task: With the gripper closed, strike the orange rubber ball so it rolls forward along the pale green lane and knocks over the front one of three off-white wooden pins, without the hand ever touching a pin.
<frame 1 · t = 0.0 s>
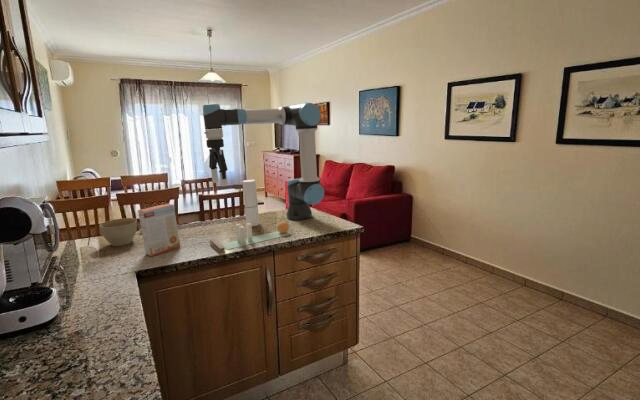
hand: (219, 184, 162), 28 cm above the worktop, tool pointing down, fingers open, 13 cm apart
cylindrical container: (252, 224, 194), on the worktop
planter bowl: (122, 243, 172), on the worktop
ball: (283, 227, 175), on the worktop
lane: (258, 239, 168), on the worktop
backstop: (217, 248, 158), on the worktop
cracker box: (163, 251, 158), on the worktop
pin back right: (239, 241, 166), on the worktop
pin front: (250, 240, 166), on the worktop
pin back left: (243, 244, 162), on the worktop
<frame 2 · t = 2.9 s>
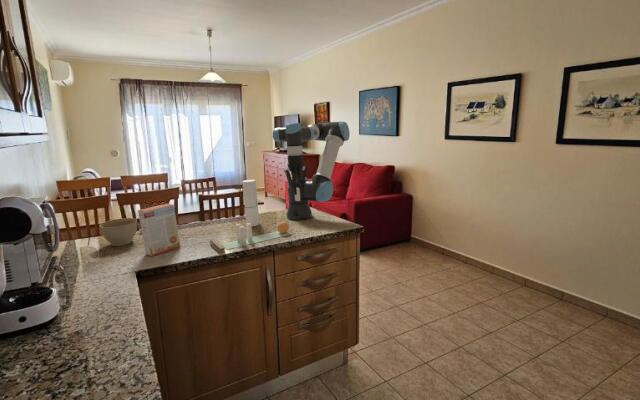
hand: (297, 200, 177), 16 cm above the worktop, tool pointing down, fingers closed
nothing on the worktop moved.
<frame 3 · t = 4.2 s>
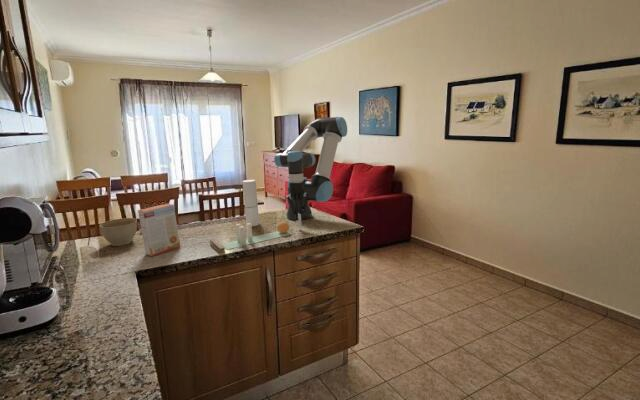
hand: (298, 225, 180), 2 cm above the worktop, tool pointing down, fingers closed
nothing on the worktop moved.
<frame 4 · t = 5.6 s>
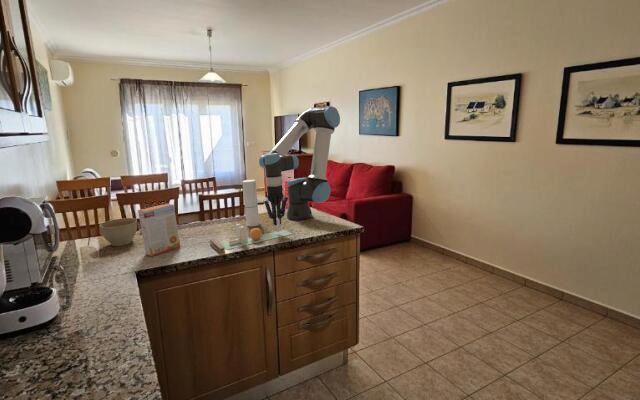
hand: (277, 230, 174), 2 cm above the worktop, tool pointing down, fingers closed
ball: (255, 234, 167), on the worktop
pin front: (246, 239, 165), point 1 cm above the worktop, tilted 90°
everything else where it was.
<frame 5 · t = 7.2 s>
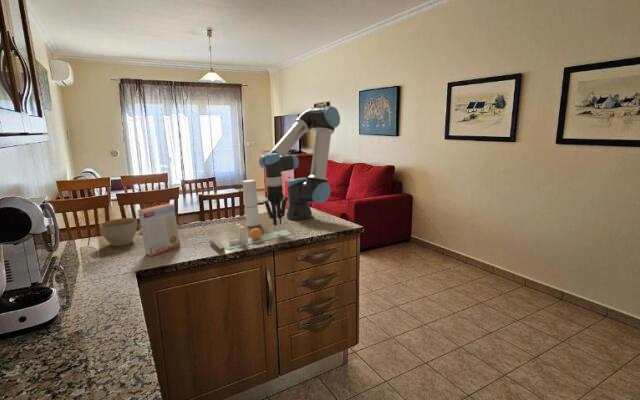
hand: (277, 230, 174), 2 cm above the worktop, tool pointing down, fingers closed
nothing on the worktop moved.
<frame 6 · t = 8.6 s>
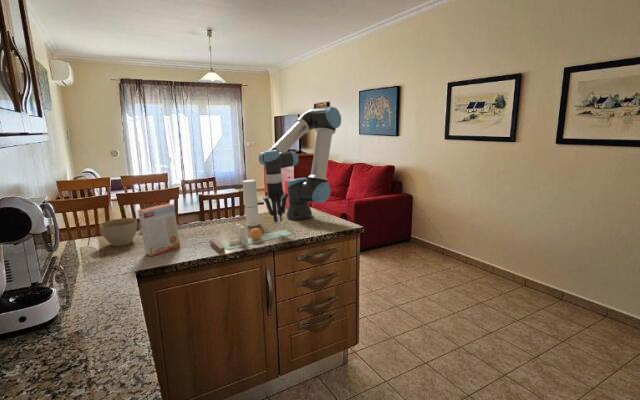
hand: (278, 227, 174), 3 cm above the worktop, tool pointing down, fingers closed
nothing on the worktop moved.
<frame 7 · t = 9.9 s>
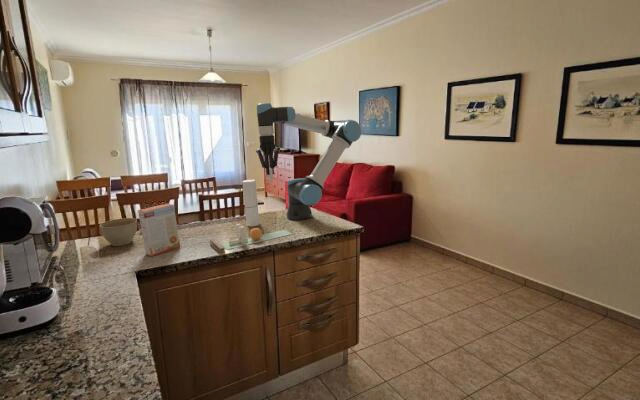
hand: (270, 180, 179), 26 cm above the worktop, tool pointing down, fingers closed
nothing on the worktop moved.
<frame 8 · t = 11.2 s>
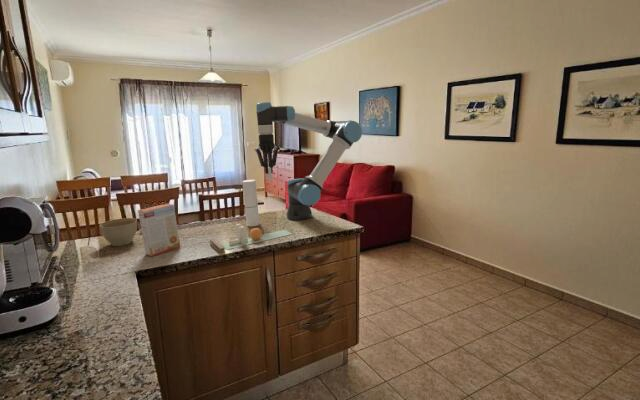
hand: (269, 179, 180), 26 cm above the worktop, tool pointing down, fingers closed
nothing on the worktop moved.
at the end: pin front tilted 90°; pin front never touched the robot; ball moved 15.1 cm from its start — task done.
